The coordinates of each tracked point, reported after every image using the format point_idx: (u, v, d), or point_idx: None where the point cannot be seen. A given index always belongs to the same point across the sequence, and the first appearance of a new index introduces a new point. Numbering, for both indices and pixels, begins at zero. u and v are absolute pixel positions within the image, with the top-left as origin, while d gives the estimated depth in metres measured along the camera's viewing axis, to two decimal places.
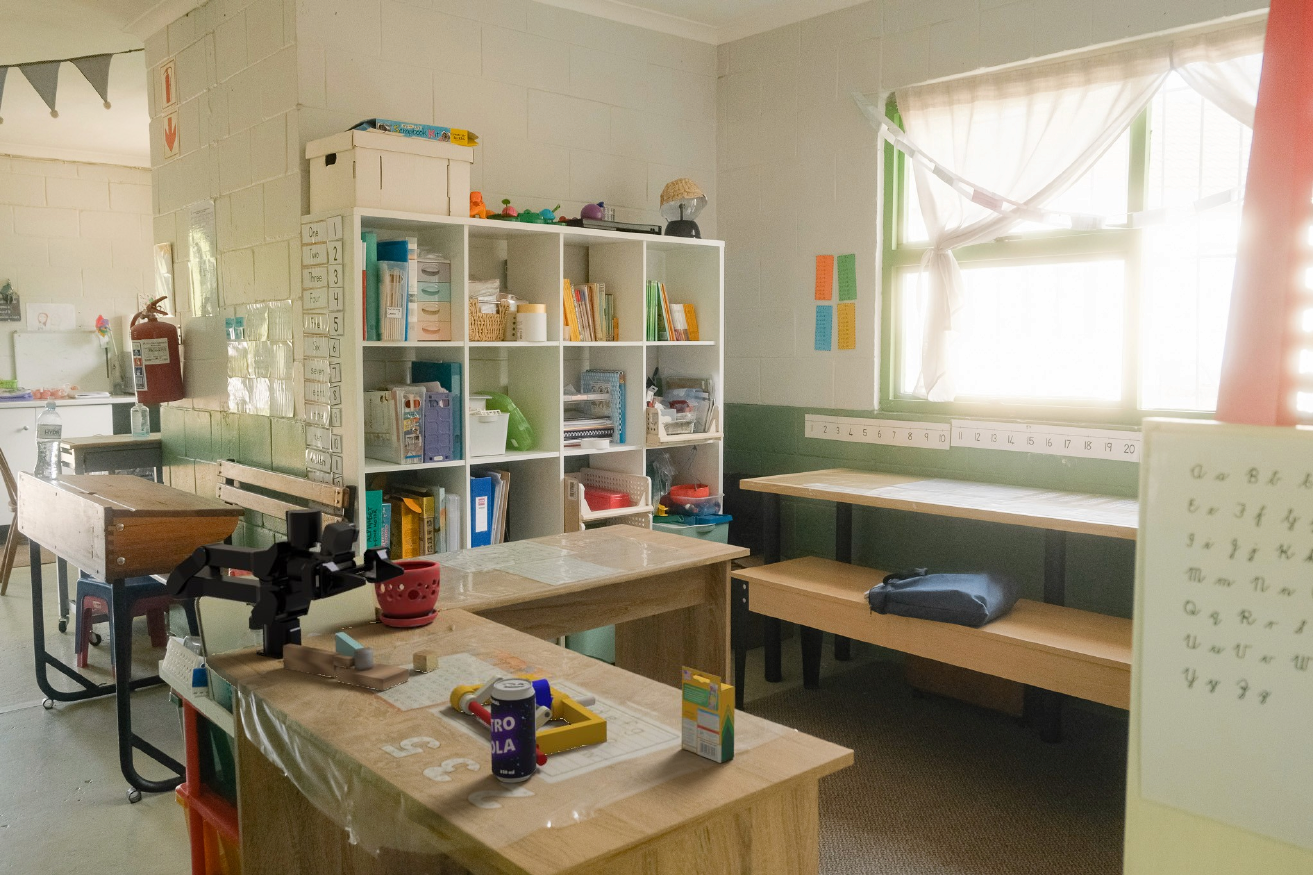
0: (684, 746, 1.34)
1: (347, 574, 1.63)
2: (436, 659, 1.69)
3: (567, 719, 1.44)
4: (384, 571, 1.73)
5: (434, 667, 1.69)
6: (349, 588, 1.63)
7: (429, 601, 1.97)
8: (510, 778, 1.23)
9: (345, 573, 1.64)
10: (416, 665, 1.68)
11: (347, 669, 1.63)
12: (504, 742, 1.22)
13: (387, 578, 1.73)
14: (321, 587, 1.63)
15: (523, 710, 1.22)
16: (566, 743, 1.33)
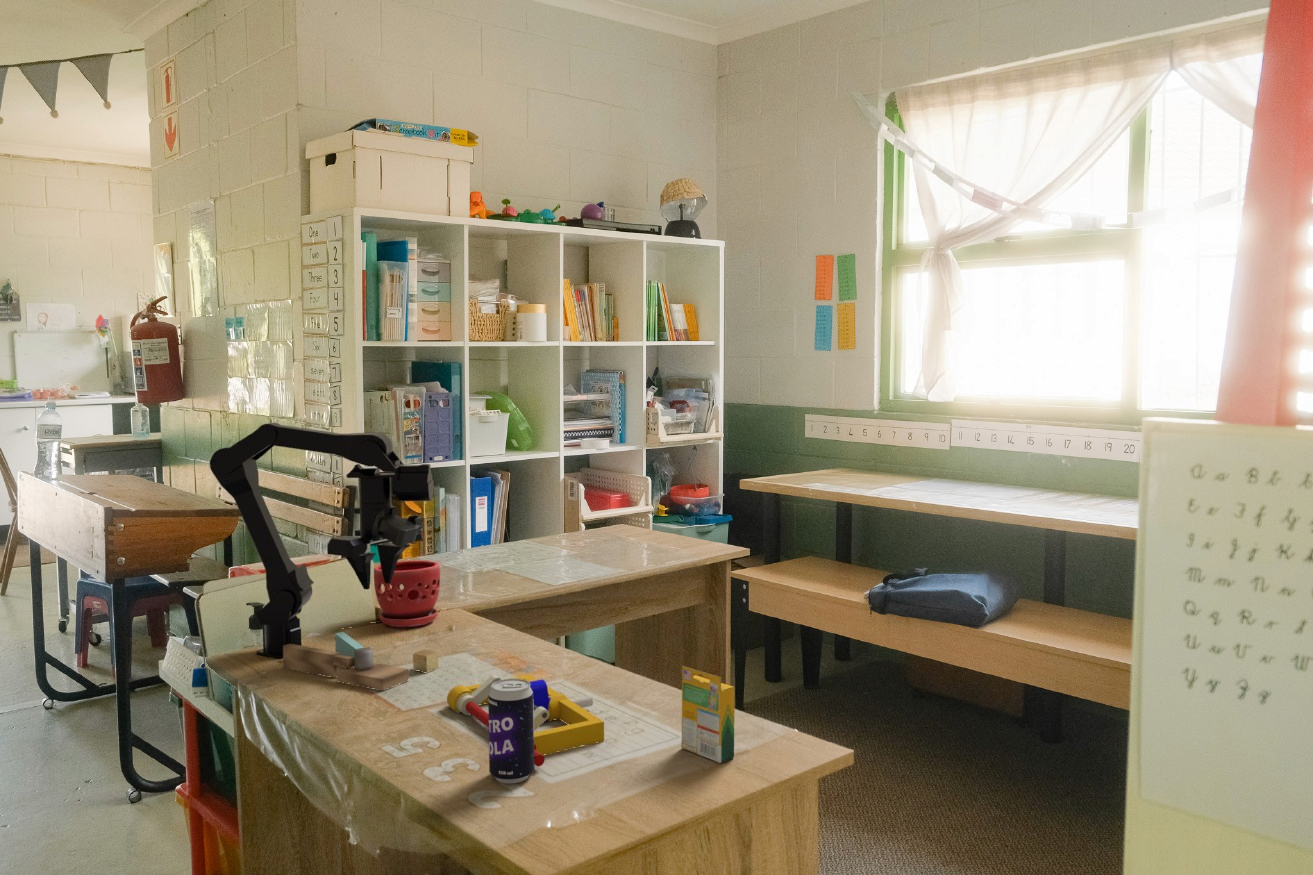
0: (684, 746, 1.34)
1: (367, 573, 1.76)
2: (436, 659, 1.69)
3: (564, 720, 1.44)
4: (386, 558, 1.82)
5: (434, 667, 1.69)
6: (357, 575, 1.77)
7: (429, 601, 1.97)
8: (509, 779, 1.22)
9: (368, 570, 1.76)
10: (416, 665, 1.68)
11: (347, 669, 1.63)
12: (502, 743, 1.22)
13: (381, 561, 1.83)
14: None
15: (521, 711, 1.22)
16: (563, 743, 1.33)
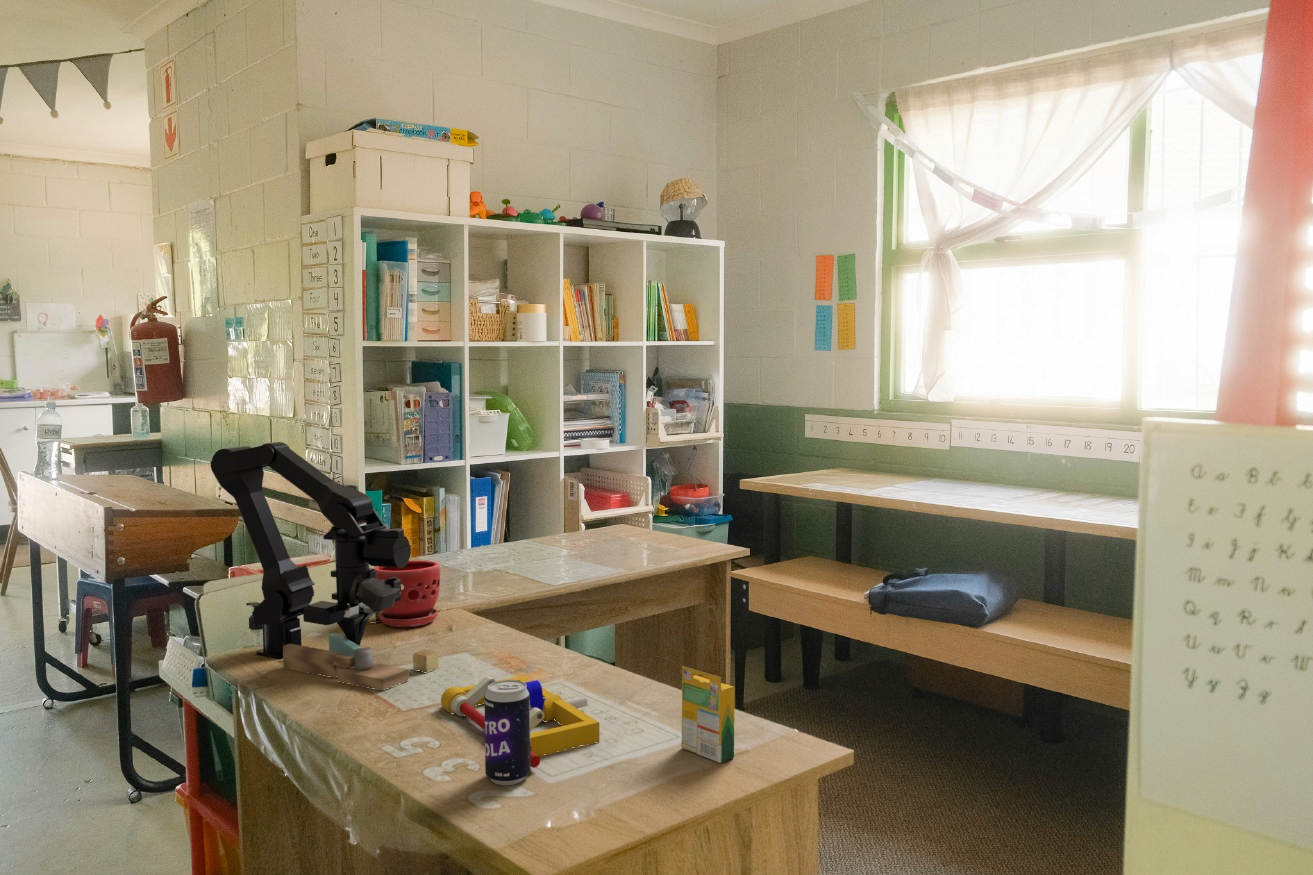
0: (684, 746, 1.34)
1: (356, 634, 1.74)
2: (436, 659, 1.69)
3: (559, 721, 1.43)
4: None
5: (434, 667, 1.69)
6: (346, 635, 1.75)
7: (429, 601, 1.97)
8: (505, 781, 1.22)
9: (356, 631, 1.74)
10: (416, 665, 1.68)
11: (347, 669, 1.63)
12: (499, 744, 1.21)
13: None
14: None
15: (518, 712, 1.22)
16: (559, 744, 1.33)
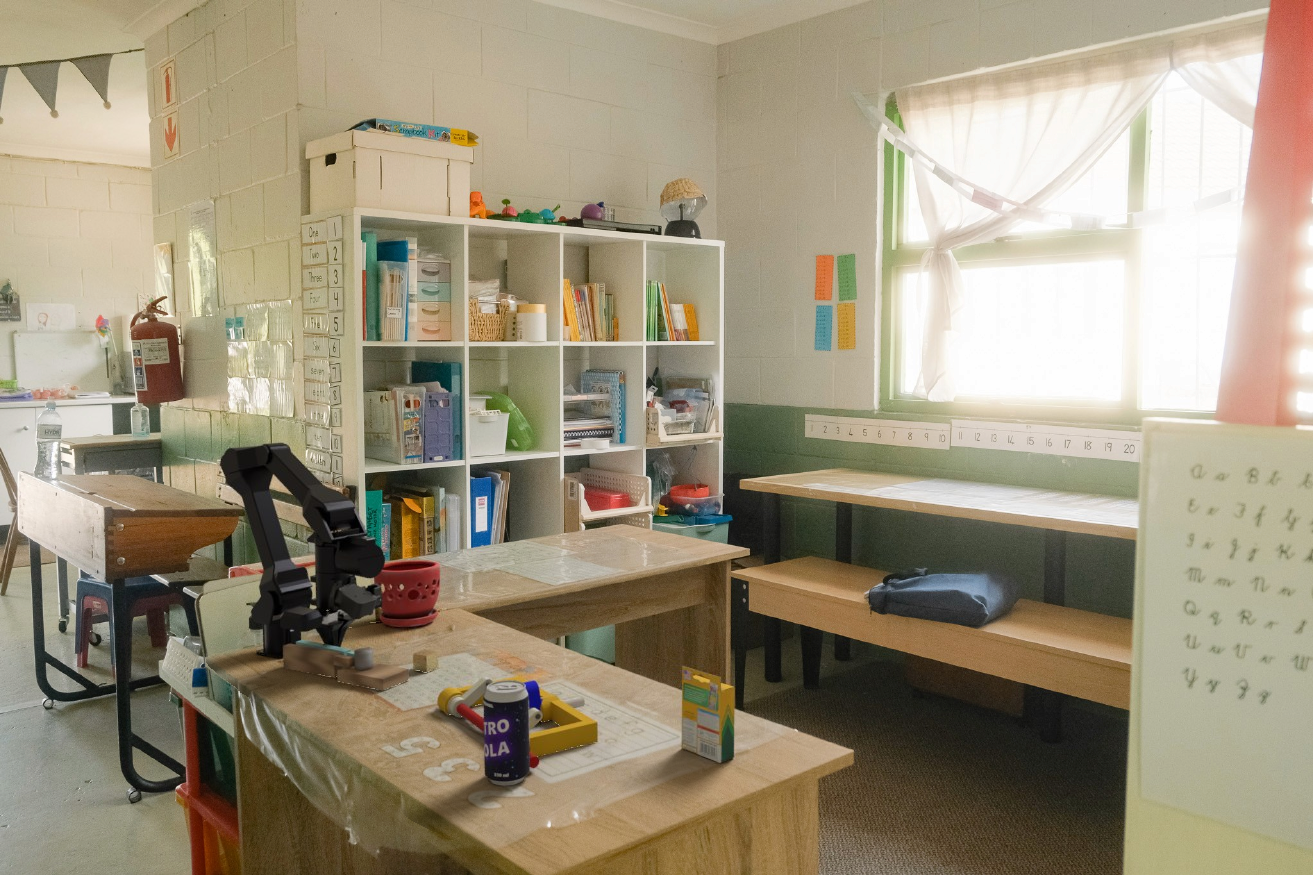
0: (684, 746, 1.34)
1: (334, 641, 1.71)
2: (436, 659, 1.69)
3: (557, 721, 1.43)
4: None
5: (434, 667, 1.69)
6: (324, 642, 1.71)
7: (429, 601, 1.97)
8: (505, 781, 1.22)
9: (335, 638, 1.70)
10: (416, 665, 1.68)
11: (347, 669, 1.63)
12: (498, 745, 1.21)
13: None
14: None
15: (517, 712, 1.22)
16: (557, 745, 1.33)
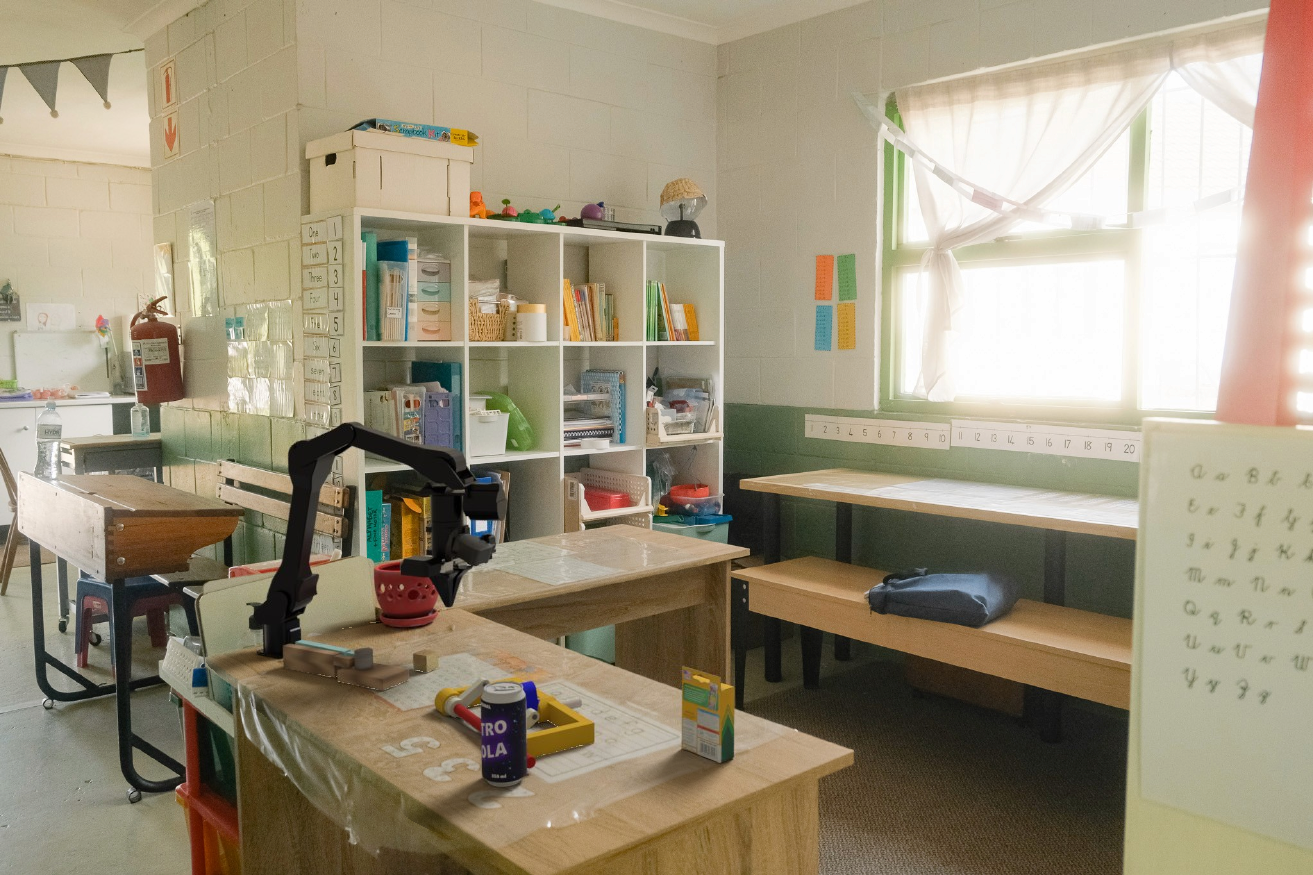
0: (684, 746, 1.34)
1: (449, 590, 1.73)
2: (436, 659, 1.69)
3: (554, 721, 1.43)
4: None
5: (434, 667, 1.69)
6: (439, 592, 1.74)
7: (429, 601, 1.97)
8: (502, 782, 1.21)
9: (450, 588, 1.73)
10: (416, 665, 1.68)
11: (347, 669, 1.63)
12: (495, 746, 1.21)
13: None
14: None
15: (514, 713, 1.21)
16: (554, 745, 1.33)
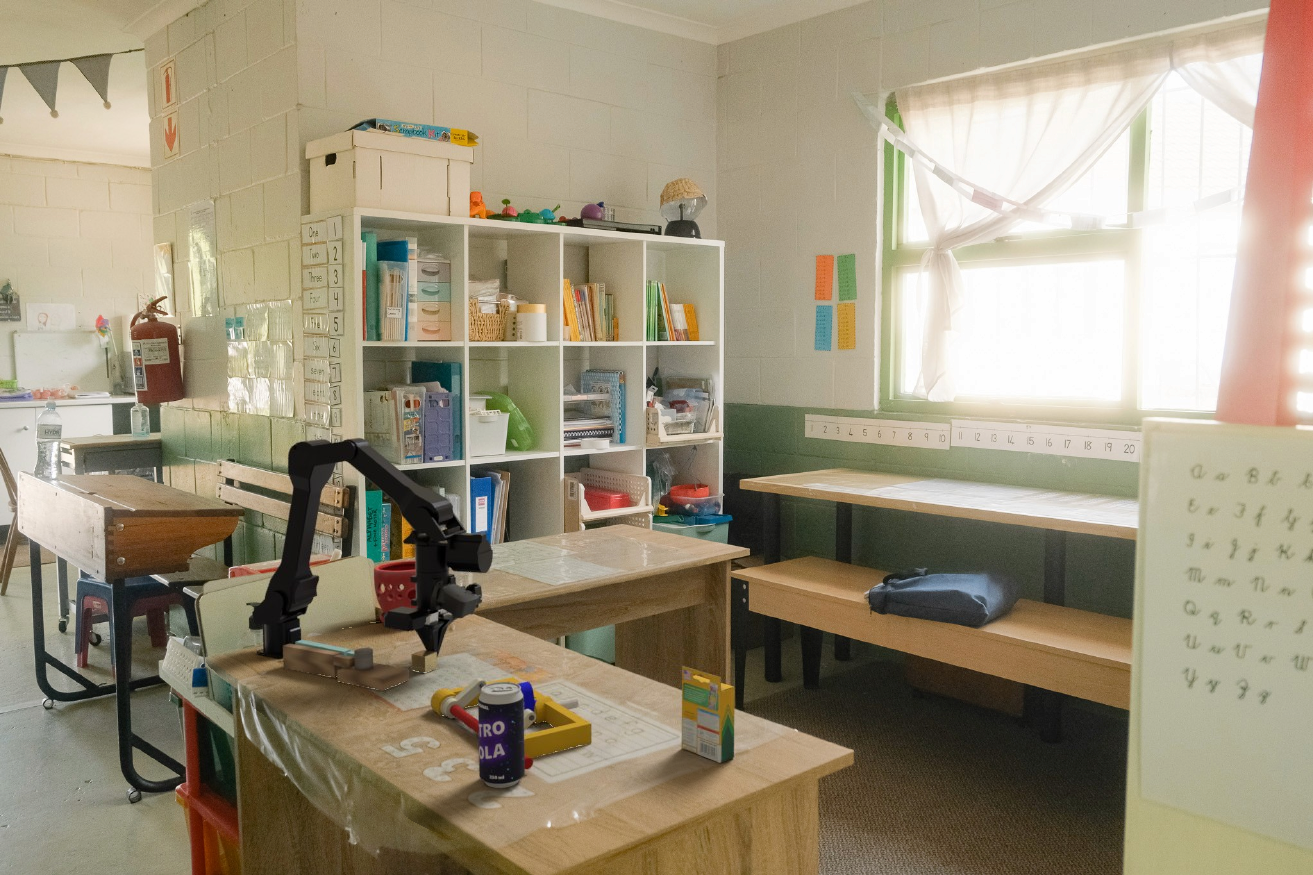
0: (684, 746, 1.34)
1: (434, 642, 1.69)
2: (434, 660, 1.69)
3: (550, 722, 1.43)
4: None
5: (433, 668, 1.69)
6: (423, 643, 1.70)
7: None
8: (500, 783, 1.21)
9: (435, 639, 1.69)
10: (415, 666, 1.68)
11: (347, 669, 1.63)
12: (493, 747, 1.21)
13: None
14: None
15: (513, 714, 1.21)
16: (551, 746, 1.32)
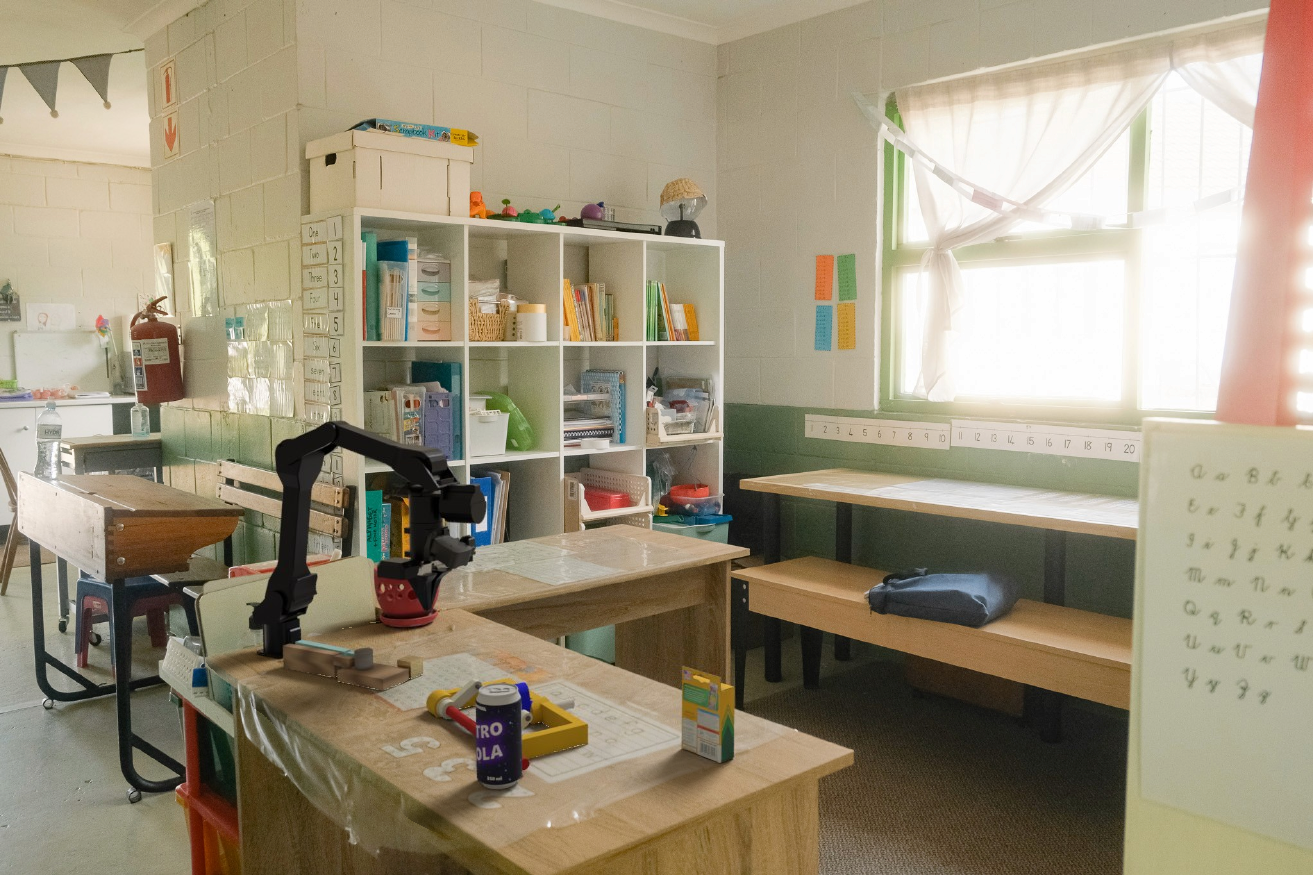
0: (684, 746, 1.34)
1: (428, 593, 1.69)
2: (420, 665, 1.66)
3: (547, 723, 1.42)
4: None
5: (419, 673, 1.65)
6: (417, 595, 1.70)
7: None
8: (498, 785, 1.21)
9: (428, 591, 1.69)
10: None
11: (347, 669, 1.63)
12: (491, 748, 1.20)
13: None
14: None
15: (510, 715, 1.21)
16: (547, 747, 1.32)
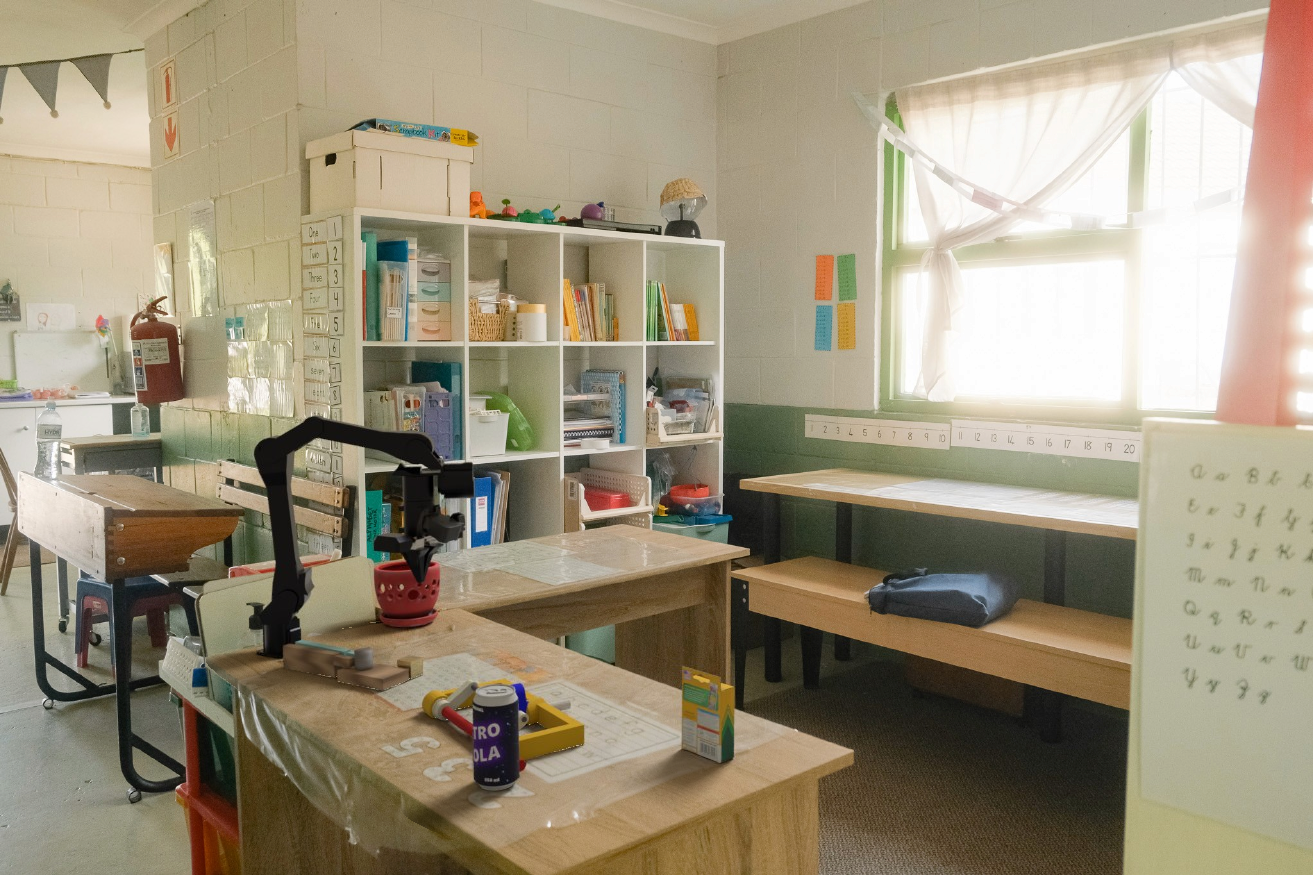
0: (684, 746, 1.34)
1: (421, 567, 1.81)
2: (420, 665, 1.66)
3: (543, 723, 1.42)
4: None
5: (419, 673, 1.65)
6: (411, 569, 1.82)
7: (429, 601, 1.97)
8: (495, 786, 1.20)
9: (421, 564, 1.81)
10: None
11: (347, 669, 1.63)
12: (488, 749, 1.20)
13: None
14: None
15: (508, 716, 1.20)
16: (544, 748, 1.32)
